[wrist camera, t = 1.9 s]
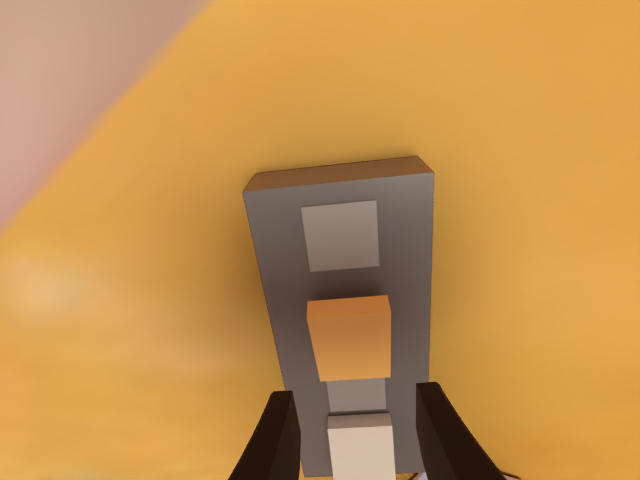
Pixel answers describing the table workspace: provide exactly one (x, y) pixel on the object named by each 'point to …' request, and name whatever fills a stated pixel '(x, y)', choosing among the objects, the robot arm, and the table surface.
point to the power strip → (347, 286)
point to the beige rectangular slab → (362, 447)
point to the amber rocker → (351, 337)
